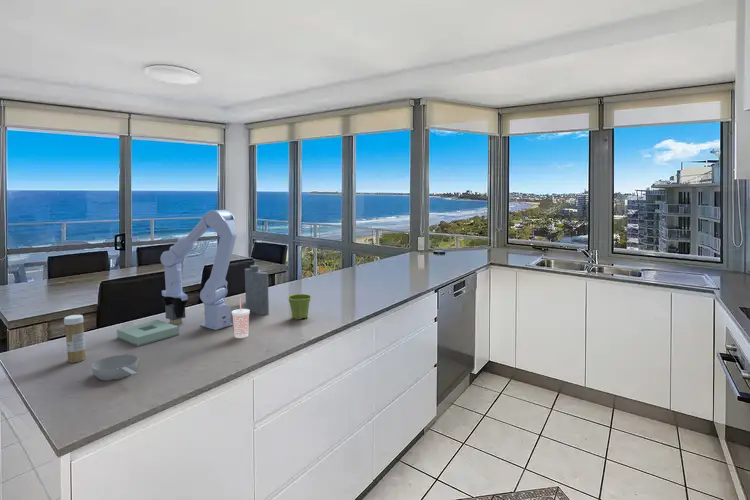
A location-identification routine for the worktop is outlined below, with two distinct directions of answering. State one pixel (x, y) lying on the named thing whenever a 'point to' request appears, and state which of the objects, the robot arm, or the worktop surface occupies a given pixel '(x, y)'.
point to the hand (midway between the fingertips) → (175, 315)
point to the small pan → (115, 367)
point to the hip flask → (256, 290)
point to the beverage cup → (241, 322)
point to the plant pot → (299, 305)
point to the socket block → (147, 332)
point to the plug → (173, 314)
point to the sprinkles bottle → (75, 338)
